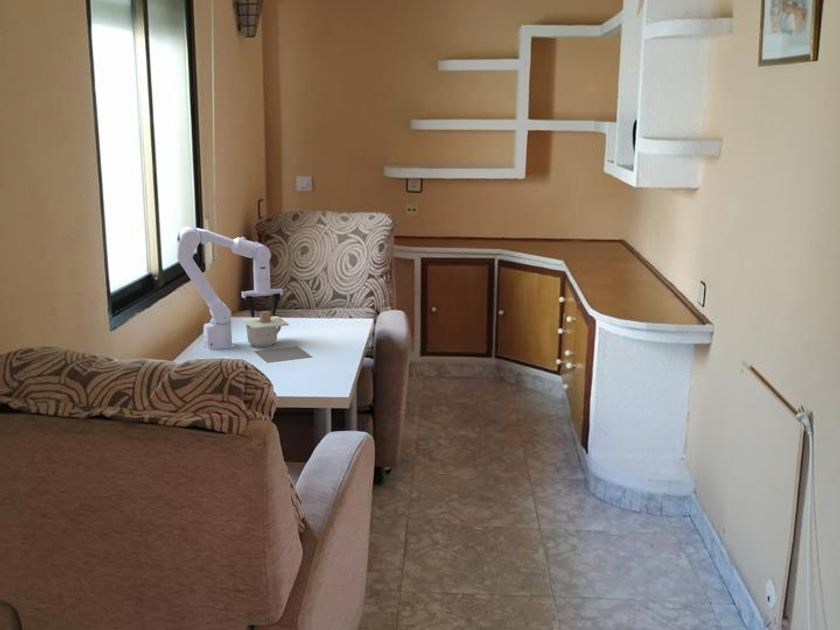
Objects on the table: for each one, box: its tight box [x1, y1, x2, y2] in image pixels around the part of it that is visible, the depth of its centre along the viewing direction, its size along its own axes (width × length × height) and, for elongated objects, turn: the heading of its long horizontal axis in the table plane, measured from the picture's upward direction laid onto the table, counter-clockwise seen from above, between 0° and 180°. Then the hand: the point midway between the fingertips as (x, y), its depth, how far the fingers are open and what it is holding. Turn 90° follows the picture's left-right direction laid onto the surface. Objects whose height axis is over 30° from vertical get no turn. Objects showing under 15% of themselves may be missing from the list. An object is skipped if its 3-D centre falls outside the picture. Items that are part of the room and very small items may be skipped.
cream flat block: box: [242, 310, 289, 329], centre depth 300 cm, size 13×13×4 cm
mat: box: [253, 345, 313, 364], centre depth 289 cm, size 16×16×1 cm
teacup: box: [245, 324, 282, 348], centre depth 301 cm, size 14×11×8 cm
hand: (263, 315), depth 302 cm, fingers open, 7 cm apart
